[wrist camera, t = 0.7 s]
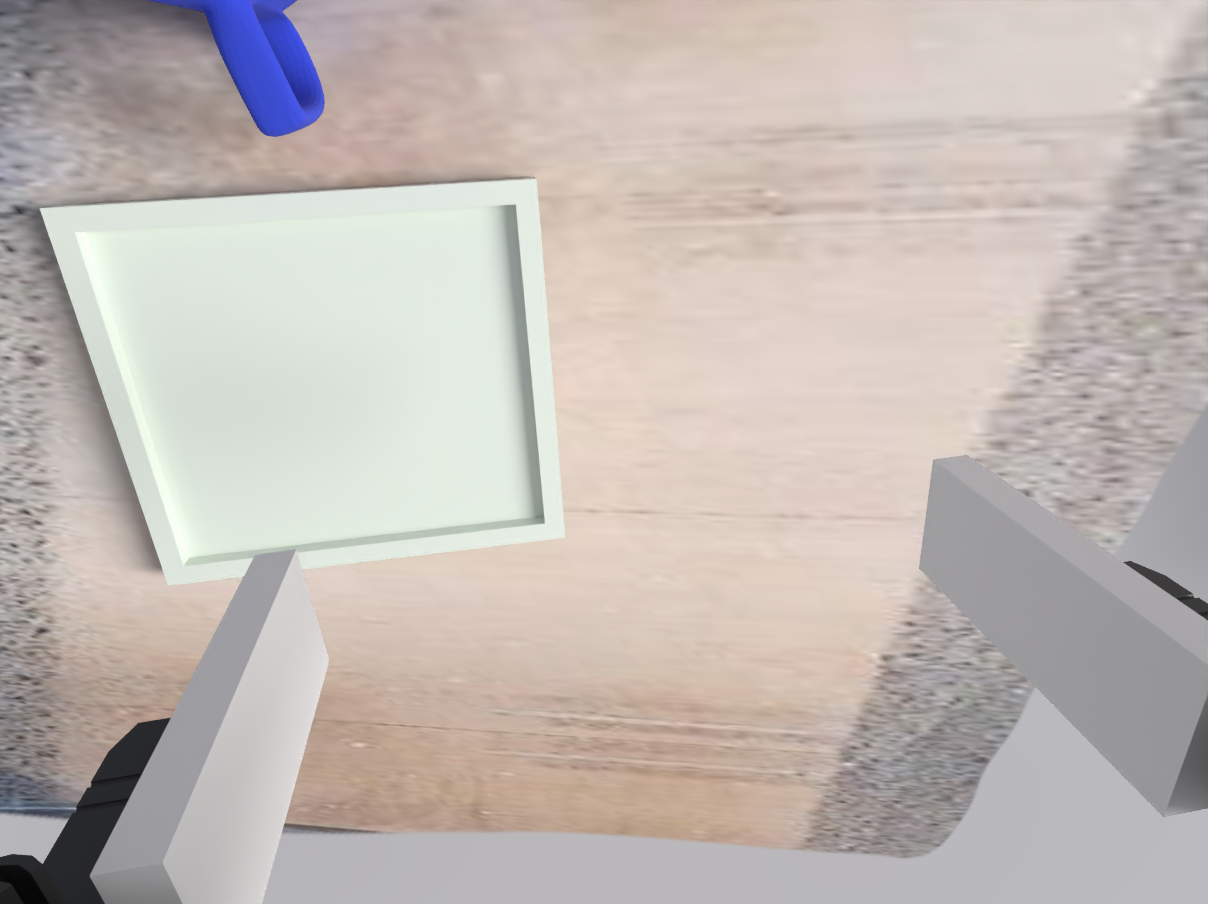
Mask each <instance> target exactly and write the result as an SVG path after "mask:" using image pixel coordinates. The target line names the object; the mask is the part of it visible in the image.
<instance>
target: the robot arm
mask: <svg viewBox="0 0 1208 904" xmlns="http://www.w3.org/2000/svg"><path fill="white" fill-rule="evenodd" d="M919 569H920V570H921V571H922V572H923V573H924V574H925V575H926V576H927V577H928V578H929V579H930V580H931V581H932V582H933V583H934V584H935V585H936V586H937V587H938V588H939V589H940V590H941V591H942V592H943V593H944V594H945V595H946V596H947V597H948V598H949V599H950V600H951V601H952V602H953V603H954V604H955V605H956V606H957V607H958V608H959V609H960V611H961V612H962V613H963V614H964V615H965V616H966V617H967V618H968V619H969V620H970V621H971V622H972V623H973V624H974V625H975V626H976V627H977V628H978V629H979V630H980V631H981V632H982V633H983V634H984V635H985V636H986V637H987V638H988V639H989V640H990V641H991V642H992V643H993V644H994V645H995V646H996V647H997V648H998V649H999V650H1000V651H1001V652H1002V653H1003V654H1004V655H1005V656H1006V657H1007V658H1008V659H1009V660H1010V661H1011V662H1012V663H1013V664H1014V665H1015V667H1016V668H1017V669H1018V670H1019V671H1020V672H1021V673H1022V674H1023V675H1024V676H1025V677H1026V678H1027V679H1028V680H1029V681H1030V682H1031V683H1032V684H1033V685H1034V686H1035V687H1036V688H1037V689H1038V690H1039V691H1040V692H1041V693H1042V694H1043V695H1044V696H1045V697H1046V698H1047V699H1048V700H1049V701H1050V702H1051V703H1052V704H1053V705H1054V706H1055V707H1056V708H1057V709H1058V710H1059V711H1060V712H1061V713H1062V714H1063V715H1064V716H1065V717H1066V718H1067V719H1068V720H1069V721H1070V722H1071V724H1072V725H1073V726H1074V727H1075V728H1076V729H1077V730H1078V731H1080V733H1081V734H1082V735H1083V736H1084V737H1085V738H1086V739H1087V740H1088V741H1089V742H1090V743H1091V744H1092V745H1093V746H1094V747H1095V748H1096V749H1097V750H1098V751H1099V752H1100V753H1101V754H1102V755H1103V756H1104V757H1105V758H1106V759H1107V760H1108V761H1109V762H1110V763H1111V764H1112V765H1113V766H1114V767H1115V768H1116V769H1117V770H1118V771H1119V772H1120V773H1121V774H1122V775H1123V776H1124V778H1125V779H1127V780H1128V782H1129V783H1130V784H1131V785H1132V786H1133V787H1134V788H1136V790H1137V791H1138V792H1139V793H1140V794H1141V795H1142V796H1143V797H1144V798H1145V799H1146V800H1147V801H1148V802H1149V803H1150V804H1151V805H1152V806H1153V807H1154V808H1155V809H1156V810H1157V811H1158V812H1159V813H1160V814H1161V815H1162V816H1163V817H1167V816H1172V815H1177V814H1182V813H1187V812H1192V811H1196V810H1202V809H1206V808H1208V604H1207V603H1206V602H1204V601H1203V600H1201V599H1200V598H1194V597H1193V594H1192V593H1191V592H1189V591H1188V590H1186V589H1185V588H1183V587H1182V586H1180V585H1179V584H1177V583H1176V582H1174V581H1173V580H1171V579H1170V578H1168V577H1167V576H1165V575H1163V574H1160V573H1158V572H1155V571H1153V570H1151V569H1148V568H1146V567H1143V566H1141V565H1139V564H1136V563H1134V562H1131V561H1128V562H1122V561H1120V560H1119V559H1117V558H1116V557H1115V556H1113V555H1112V554H1110V553H1109V552H1107V551H1106V550H1104V549H1103V548H1101V547H1100V546H1098V545H1097V544H1096V543H1094V542H1093V541H1091V540H1090V539H1088V538H1087V537H1085V536H1084V535H1082V534H1081V533H1080V532H1078V531H1077V530H1075V529H1074V528H1072V527H1071V526H1069V525H1068V524H1066V523H1065V522H1064V521H1062V520H1061V519H1059V518H1058V517H1056V516H1055V515H1053V514H1052V513H1050V512H1049V511H1048V510H1046V509H1045V508H1043V507H1042V506H1040V505H1039V504H1037V503H1036V502H1034V501H1033V500H1031V499H1030V498H1029V497H1027V496H1026V495H1024V494H1023V493H1021V492H1020V491H1018V490H1017V489H1015V488H1014V487H1013V486H1011V485H1010V484H1008V483H1007V482H1005V481H1004V480H1002V479H1001V478H999V477H998V476H997V475H995V474H994V473H992V472H991V471H989V470H988V469H986V468H985V467H983V466H982V465H980V464H979V463H978V462H976V461H975V460H973V459H972V458H970V457H969V456H967V455H964V456H957V457H950V458H943V459H935V460H933V466H932V473H931V481H930V489H929V496H928V504H927V512H926V519H925V527H924V535H923V542H922V550H921V558H920V565H919ZM328 664H329V658H328V655H327V651H326V648H325V645H324V641H323V638H322V634H321V631H320V628H319V624H318V621H317V617H316V614H315V611H314V607H313V604H312V600H311V597H310V594H309V590H308V587H307V583H306V580H305V577H304V573H303V570H302V566H301V563H300V560H299V556H298V553H297V549H292V550H285V551H278V552H271V553H264V554H256V555H255V556H254V558H253V560H252V562H251V564H250V566H249V568H248V570H247V572H246V573H245V575H244V577H243V579H242V581H241V583H240V585H239V587H238V589H237V591H236V593H235V595H234V597H233V599H232V601H231V603H230V604H229V606H228V608H227V610H226V612H225V614H224V616H223V618H222V620H221V622H220V624H219V626H218V628H217V630H216V632H215V634H214V635H213V637H212V639H211V641H210V643H209V645H208V647H207V649H206V651H205V653H204V655H203V657H202V659H201V661H200V663H199V665H198V667H197V668H196V670H195V672H194V674H193V676H192V678H191V680H190V682H189V684H188V686H187V688H186V690H185V692H184V694H183V696H182V698H181V699H180V701H179V703H178V705H177V707H176V709H175V711H174V713H173V715H172V717H171V718H166V719H160V720H154V721H148V722H142V723H138V724H137V725H136V726H135V727H134V728H133V729H132V730H131V731H130V732H129V733H127V734H126V735H125V736H124V737H123V738H122V739H121V740H120V741H119V742H118V743H117V744H116V745H115V746H114V747H113V748H112V749H111V750H110V751H109V752H108V754H107V755H106V757H105V759H104V761H103V762H102V764H101V766H100V767H99V769H98V771H97V772H96V774H95V776H94V778H93V779H92V781H91V787H90V788H87V790H86V791H85V793H84V795H83V796H82V798H81V800H80V801H79V803H78V805H77V807H76V808H77V811H76V813H73V814H72V815H71V817H70V818H69V820H68V822H67V824H66V825H65V827H64V829H63V831H62V832H61V834H60V836H59V837H58V839H57V841H56V842H55V844H54V846H53V848H52V849H51V851H50V853H49V854H48V856H47V858H46V859H45V861H44V863H43V864H42V863H40V862H39V861H38V860H37V859H36V858H34V857H33V856H29V855H16V854H11V855H7V856H3V857H0V904H262V902H263V898H264V894H265V891H266V887H267V884H268V880H269V876H270V873H271V869H272V866H273V862H274V858H275V855H276V851H277V847H278V844H279V840H280V837H281V833H282V830H283V826H284V822H285V819H286V815H287V812H288V808H289V804H290V801H291V797H292V794H293V790H294V786H295V783H296V779H297V776H298V772H299V768H300V765H301V761H302V757H303V754H304V750H305V747H306V743H307V739H308V736H309V732H310V729H311V725H312V721H313V718H314V714H315V711H316V707H317V703H318V700H319V696H320V693H321V689H322V685H323V682H324V678H325V675H326V671H327V667H328Z"/></svg>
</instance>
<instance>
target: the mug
mask: <svg viewBox="0 0 1208 904" xmlns="http://www.w3.org/2000/svg"><path fill="white" fill-rule="evenodd" d="M148 1H153V2H158V3H163V4H168V5H173V6H178V7H182V8H187V9H192V10H197V11H202V12H204V13H205V15H206V17H207V19H208V22H209V25H210V28H211V31H212V33H213V36H214V39H215V42H216V44H217V46H218V49H219V51H220V54H221V56H222V58H223V60H224V62H225V64H226V67H227V69H228V71H229V73H230V75H231V77H232V79H233V81H234V83H235V85H236V87H237V89H238V91H239V93H240V95H241V97H242V99H243V101H244V103H245V105H246V106H247V108H248V110H249V112H250V114H251V116H252V118H253V120H254V121H255V123H256V125H257V127H258V128H259V129H260V131H261V132H262V133H264V134H265V135H267V136H273V137H276V136H282V135H286V134H289V133H292V132H295V131H297V130H300V129H302V128H304V127H307V126H309V125H310V124H312V123H314V122H315V121H316V120H317V119H318V118H319V117H320V115H321V114H322V112H323V109H324V102H325V101H324V94H323V90H322V86H321V83H320V80H319V77H318V74H317V72H316V69H315V67H314V65H313V62H312V60H311V58H310V56H309V53H308V51H307V49H306V47H305V45H304V43H303V42H302V40H301V38H300V36H299V34H298V32H297V30H296V29H295V27H294V26H293V24H292V23H291V21H290V20H289V19H288V18H287V17H286V16H285V14H284V13H283V12H282V11H283V10H285V9H286V8H287V7H289V6H290V5H292V4H293V3H294V2H296V1H297V0H148Z"/></svg>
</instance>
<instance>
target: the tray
mask: <svg viewBox="0 0 1208 904" xmlns="http://www.w3.org/2000/svg"><path fill="white" fill-rule="evenodd" d="M40 211H41V214H42V217H43V220H44V223H45V226H46V229H47V232H48V234H49V237H50V240H51V243H52V246H53V249H54V252H55V255H56V258H57V261H58V264H59V267H60V270H61V273H62V276H63V279H64V282H65V284H66V287H67V290H68V293H69V296H70V299H71V302H72V305H73V308H74V311H75V314H76V317H77V320H78V323H79V326H80V329H81V331H82V334H83V337H84V340H85V343H86V346H87V349H88V352H89V355H90V358H91V361H92V364H93V367H94V370H95V373H96V376H97V378H98V381H99V384H100V387H101V390H102V393H103V396H104V399H105V402H106V405H107V408H108V411H109V414H110V417H111V420H112V423H113V425H114V428H115V431H116V434H117V437H118V440H119V443H120V446H121V449H122V452H123V455H124V458H125V461H126V464H127V467H128V470H129V473H130V475H131V478H132V481H133V484H134V487H135V490H136V493H137V496H138V499H139V502H140V505H141V508H142V511H143V514H144V517H145V520H146V522H147V525H148V528H149V531H150V534H151V537H152V540H153V543H154V546H155V549H156V552H157V555H158V558H159V561H160V564H161V567H162V569H163V572H164V575H165V578H166V581H167V584H168V586H169V585H177V584H186V583H194V582H202V581H210V580H219V579H227V578H235V577H244V575H245V573H246V572H247V570H248V568H249V566H250V564H251V562H252V560H253V558H254V556H255V555H256V554H264V553H271V552H278V551H285V550H292V549H297V553H298V556H299V560H300V563H301V566H302V569H310V568H318V567H326V566H335V565H343V564H351V563H360V562H368V561H376V560H384V559H393V558H401V557H409V556H418V555H426V554H434V553H443V552H451V551H459V550H467V549H476V548H484V547H492V546H501V545H509V544H517V543H525V542H534V541H542V540H550V539H559V538H565V530H564V517H563V504H562V492H561V479H560V467H559V454H558V441H557V429H556V416H555V404H554V391H553V378H552V366H551V353H550V341H549V328H548V315H547V303H546V290H545V278H544V265H543V252H542V240H541V227H540V215H539V202H538V189H537V179H536V178H535V177H526V178H509V179H492V180H476V181H459V182H442V183H425V184H408V185H391V186H374V187H357V188H340V189H324V190H307V191H290V192H273V193H256V194H239V195H222V196H205V197H188V198H172V199H155V200H138V201H121V202H104V203H87V204H70V205H58V206H52V207H45V208H40Z"/></svg>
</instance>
